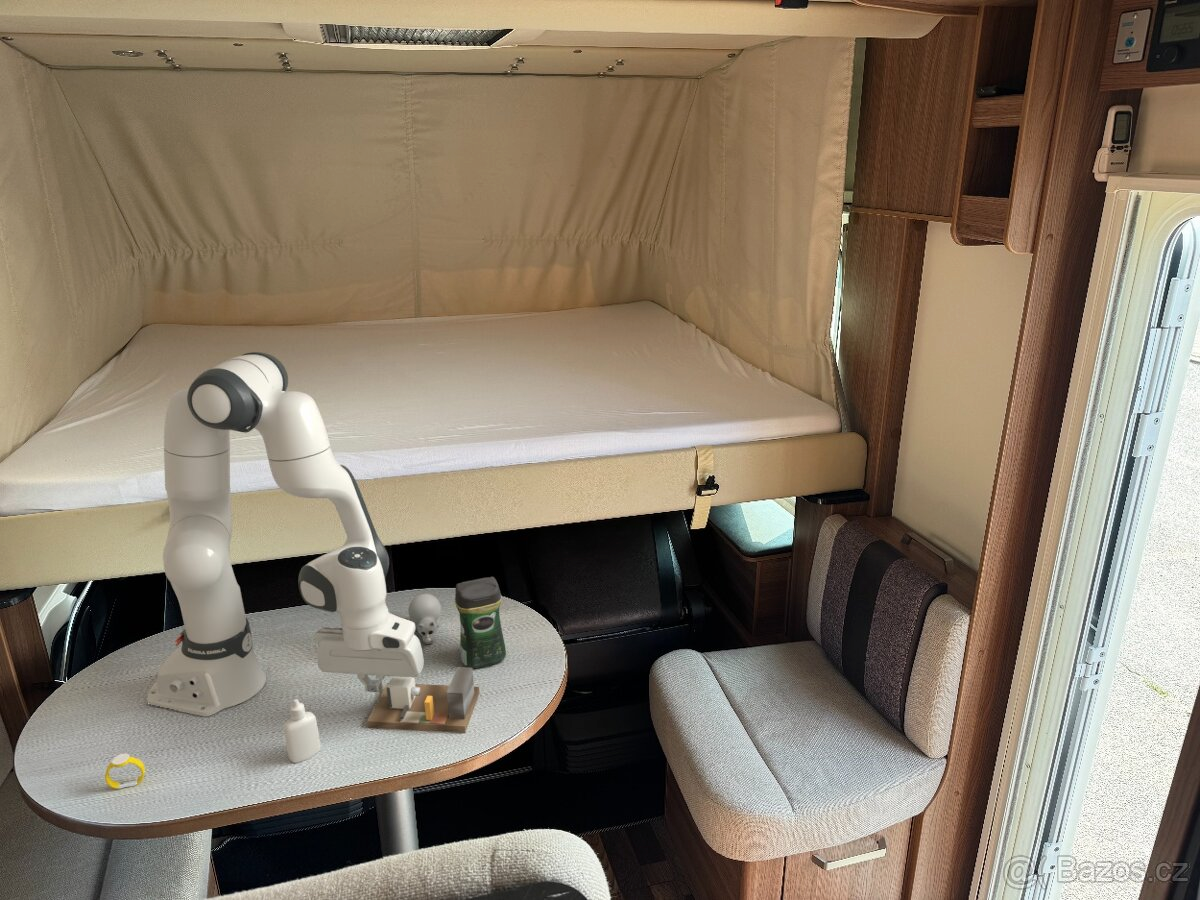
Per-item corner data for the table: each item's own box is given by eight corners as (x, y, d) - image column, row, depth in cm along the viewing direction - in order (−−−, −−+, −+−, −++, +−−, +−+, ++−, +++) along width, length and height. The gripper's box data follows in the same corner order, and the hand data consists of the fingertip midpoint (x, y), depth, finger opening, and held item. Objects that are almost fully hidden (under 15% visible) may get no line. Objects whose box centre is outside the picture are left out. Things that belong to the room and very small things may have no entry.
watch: (109, 796, 148) (98, 769, 146) (112, 785, 151) (101, 758, 149) (147, 785, 150) (137, 759, 148) (149, 774, 152) (139, 748, 150)
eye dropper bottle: (290, 749, 158) (280, 695, 154) (321, 743, 160) (313, 690, 155) (288, 765, 154) (278, 710, 150) (320, 759, 156) (311, 705, 151)
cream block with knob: (383, 719, 163) (380, 697, 161) (396, 693, 170) (393, 672, 168) (412, 720, 162) (409, 699, 161) (424, 694, 170) (421, 673, 168)
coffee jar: (500, 643, 189) (495, 569, 182) (509, 663, 182) (504, 587, 176) (457, 652, 186) (450, 577, 179) (464, 673, 179) (458, 596, 172)
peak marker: (426, 719, 162) (424, 702, 161) (429, 712, 164) (427, 695, 163) (431, 720, 162) (429, 702, 161) (434, 713, 164) (432, 695, 163)
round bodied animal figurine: (412, 655, 190) (408, 633, 184) (409, 612, 198) (406, 589, 192) (445, 650, 191) (442, 628, 185) (441, 607, 200) (438, 585, 194)
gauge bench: (367, 727, 164) (363, 695, 161) (388, 688, 175) (384, 657, 172) (465, 732, 162) (462, 700, 159) (479, 693, 173) (477, 661, 170)
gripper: (307, 636, 160) (316, 697, 165) (412, 642, 158) (419, 703, 163) (320, 617, 166) (329, 677, 171) (423, 623, 164) (428, 683, 169)
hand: (374, 690), depth 167 cm, fingers closed
